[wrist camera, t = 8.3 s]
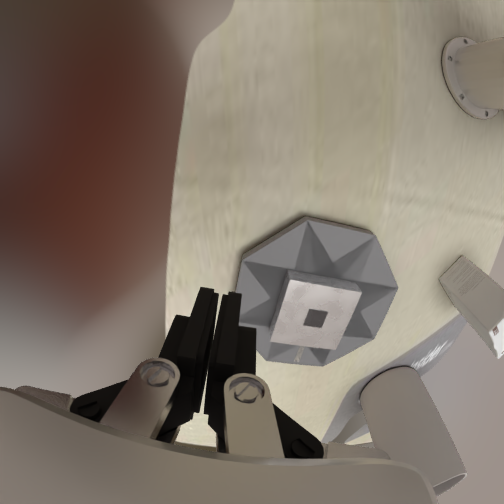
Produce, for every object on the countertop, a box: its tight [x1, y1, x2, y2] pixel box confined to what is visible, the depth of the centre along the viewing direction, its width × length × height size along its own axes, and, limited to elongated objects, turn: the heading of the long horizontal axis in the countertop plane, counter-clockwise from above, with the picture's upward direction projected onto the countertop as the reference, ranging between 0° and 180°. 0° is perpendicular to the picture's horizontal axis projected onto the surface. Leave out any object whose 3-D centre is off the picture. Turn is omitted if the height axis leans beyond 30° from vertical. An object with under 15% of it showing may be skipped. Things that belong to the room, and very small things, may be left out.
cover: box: [269, 270, 362, 350], centre depth 35 cm, size 9×9×3 cm
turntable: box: [235, 216, 398, 366], centre depth 37 cm, size 21×21×2 cm
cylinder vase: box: [360, 367, 467, 497], centre depth 35 cm, size 12×12×25 cm
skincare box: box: [439, 256, 504, 359], centre depth 31 cm, size 8×6×15 cm
